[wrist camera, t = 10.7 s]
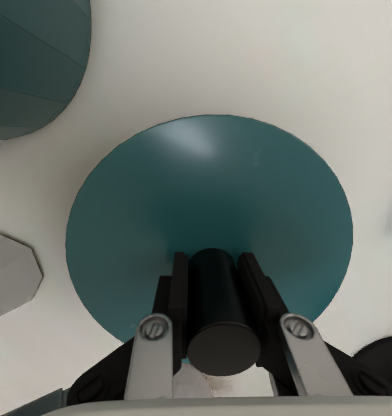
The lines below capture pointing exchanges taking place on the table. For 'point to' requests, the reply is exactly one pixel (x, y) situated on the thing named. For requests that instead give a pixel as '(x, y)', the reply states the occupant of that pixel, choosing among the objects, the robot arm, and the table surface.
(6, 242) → the flask
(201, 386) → the perfume bottle
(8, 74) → the pot
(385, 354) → the wine glass
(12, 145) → the table surface
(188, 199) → the pot lid
